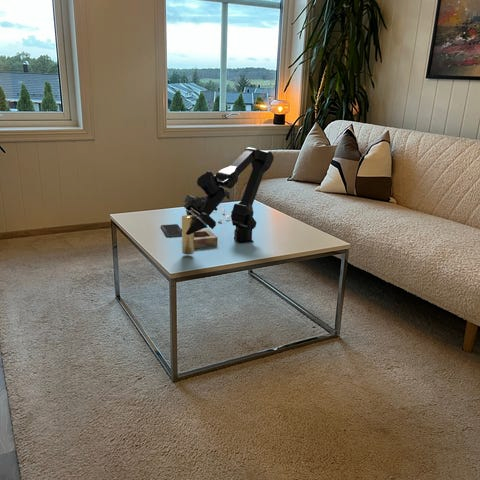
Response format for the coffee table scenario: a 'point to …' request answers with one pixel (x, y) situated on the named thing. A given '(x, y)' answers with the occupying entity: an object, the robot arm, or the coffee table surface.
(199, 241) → the socket block
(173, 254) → the coffee table surface
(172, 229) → the phone
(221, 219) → the game piece set
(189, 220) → the peg
